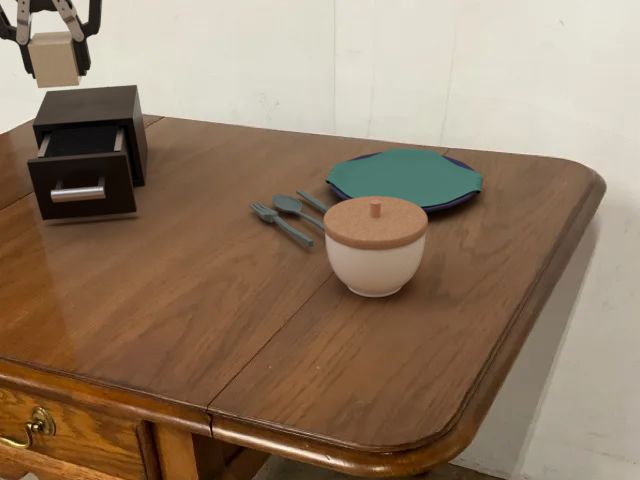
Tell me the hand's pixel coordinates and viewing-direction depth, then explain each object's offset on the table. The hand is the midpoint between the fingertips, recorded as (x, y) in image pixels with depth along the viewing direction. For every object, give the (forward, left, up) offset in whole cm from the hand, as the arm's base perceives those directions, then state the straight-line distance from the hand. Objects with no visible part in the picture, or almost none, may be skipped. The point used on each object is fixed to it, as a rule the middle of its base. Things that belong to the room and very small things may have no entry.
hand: (60, 75), depth 90 cm
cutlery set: (+36, -5, -17) cm, 40 cm away
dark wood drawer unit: (0, +14, -17) cm, 22 cm away
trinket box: (+32, -26, -17) cm, 45 cm away
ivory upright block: (0, 0, -1) cm, 1 cm away
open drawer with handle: (0, +1, -16) cm, 16 cm away
